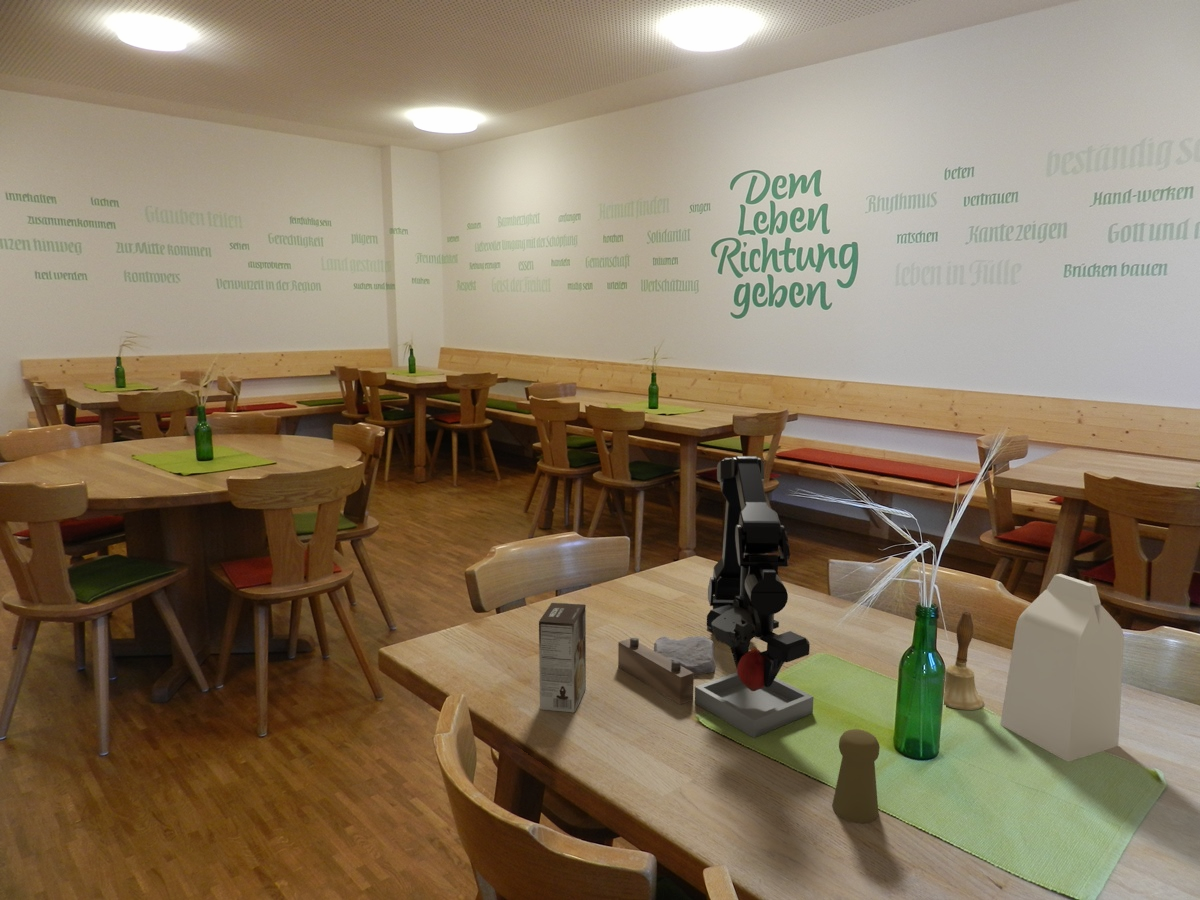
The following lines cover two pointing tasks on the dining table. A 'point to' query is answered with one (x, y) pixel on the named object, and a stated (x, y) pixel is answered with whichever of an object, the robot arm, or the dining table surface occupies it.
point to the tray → (753, 704)
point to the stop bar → (656, 670)
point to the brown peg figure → (857, 777)
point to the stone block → (688, 652)
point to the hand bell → (962, 672)
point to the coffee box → (562, 656)
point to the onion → (752, 669)
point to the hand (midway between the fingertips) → (754, 679)
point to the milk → (1066, 672)
